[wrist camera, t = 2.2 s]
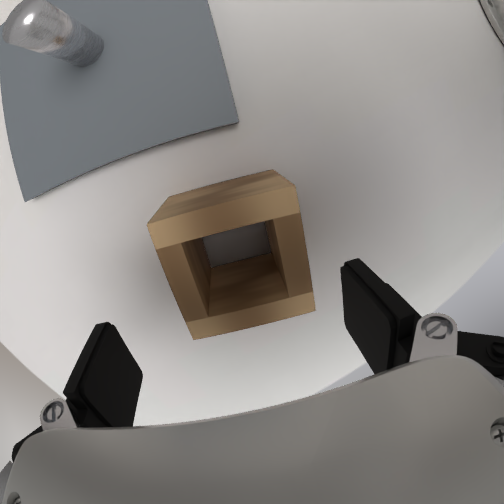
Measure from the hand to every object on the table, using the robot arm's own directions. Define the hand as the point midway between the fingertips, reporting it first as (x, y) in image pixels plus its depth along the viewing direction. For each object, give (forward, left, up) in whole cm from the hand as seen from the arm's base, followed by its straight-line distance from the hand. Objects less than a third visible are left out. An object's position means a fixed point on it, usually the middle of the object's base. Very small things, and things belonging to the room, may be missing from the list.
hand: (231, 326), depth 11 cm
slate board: (+5, -15, -10) cm, 19 cm away
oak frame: (-1, 0, -10) cm, 10 cm away
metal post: (+5, -15, -8) cm, 18 cm away
